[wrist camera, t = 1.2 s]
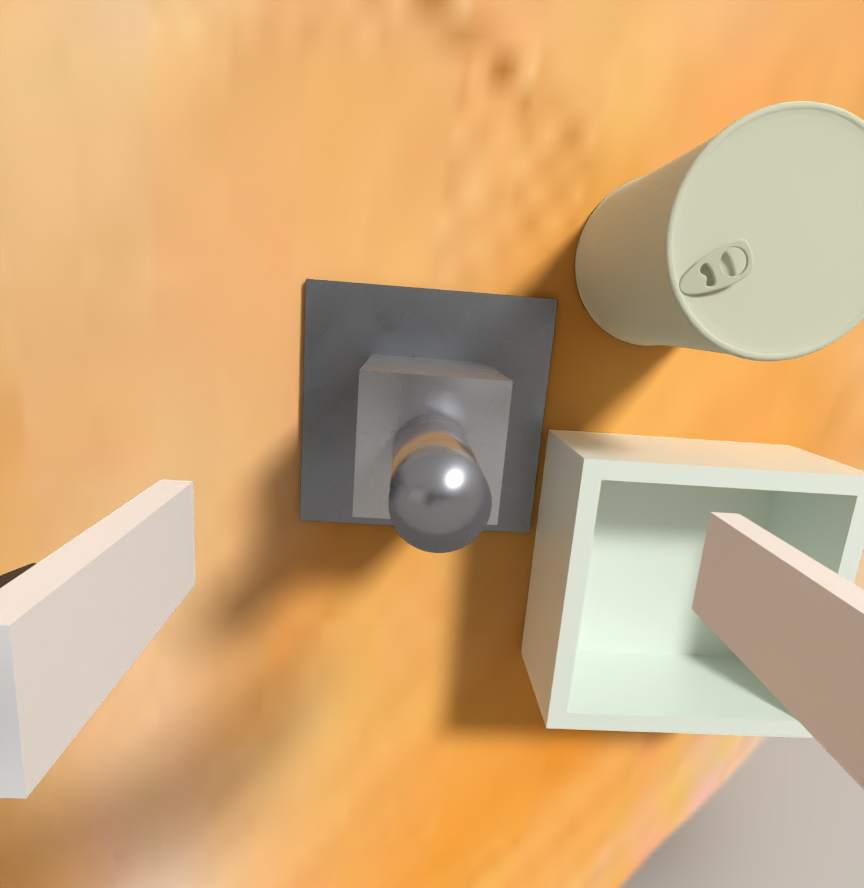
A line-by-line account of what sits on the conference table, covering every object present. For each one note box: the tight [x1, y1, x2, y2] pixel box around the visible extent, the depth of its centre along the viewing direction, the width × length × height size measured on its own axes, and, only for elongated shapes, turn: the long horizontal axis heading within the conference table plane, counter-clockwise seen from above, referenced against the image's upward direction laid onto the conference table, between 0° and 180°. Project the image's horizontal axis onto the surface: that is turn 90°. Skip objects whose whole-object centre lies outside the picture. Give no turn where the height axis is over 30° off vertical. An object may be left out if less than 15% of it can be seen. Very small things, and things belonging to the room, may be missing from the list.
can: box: [575, 101, 864, 361], centre depth 26 cm, size 9×9×12 cm
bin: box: [521, 429, 864, 738], centre depth 33 cm, size 15×15×7 cm
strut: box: [352, 354, 513, 553], centre depth 25 cm, size 6×6×16 cm
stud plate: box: [300, 279, 558, 533], centre depth 30 cm, size 14×14×8 cm
